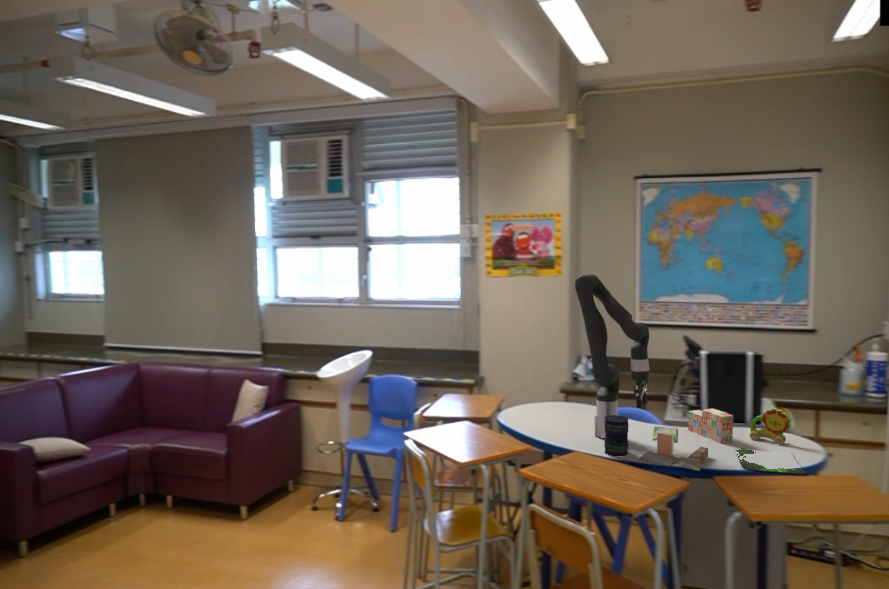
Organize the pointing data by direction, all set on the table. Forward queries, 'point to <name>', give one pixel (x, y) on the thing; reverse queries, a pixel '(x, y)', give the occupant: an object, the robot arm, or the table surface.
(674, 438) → the green number board
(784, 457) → the table surface
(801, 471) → the mouse mat
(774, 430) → the toy lion
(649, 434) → the table surface
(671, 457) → the mat
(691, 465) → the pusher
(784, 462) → the table surface
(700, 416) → the stack of blocks
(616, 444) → the storage jar
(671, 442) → the tile
